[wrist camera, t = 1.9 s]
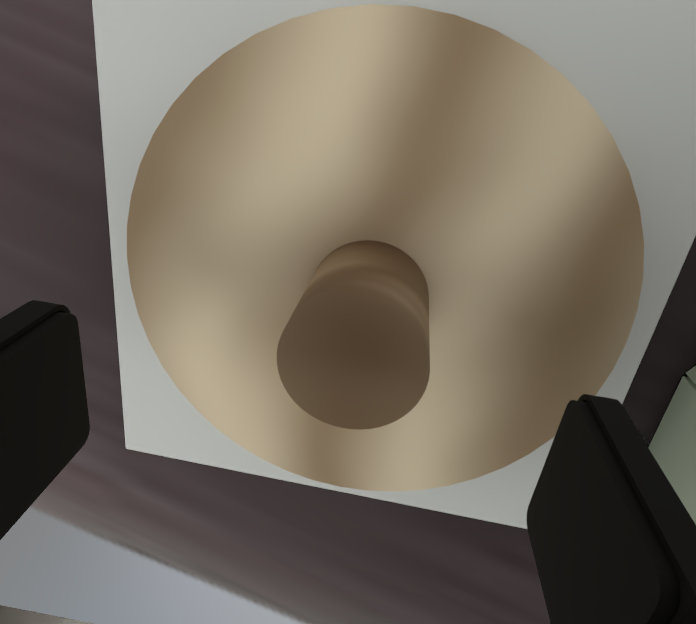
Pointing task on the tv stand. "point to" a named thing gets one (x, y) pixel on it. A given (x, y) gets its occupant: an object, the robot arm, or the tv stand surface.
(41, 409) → the robot arm
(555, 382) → the lid
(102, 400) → the tv stand surface
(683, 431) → the bowl
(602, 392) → the mat
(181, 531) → the tv stand surface
